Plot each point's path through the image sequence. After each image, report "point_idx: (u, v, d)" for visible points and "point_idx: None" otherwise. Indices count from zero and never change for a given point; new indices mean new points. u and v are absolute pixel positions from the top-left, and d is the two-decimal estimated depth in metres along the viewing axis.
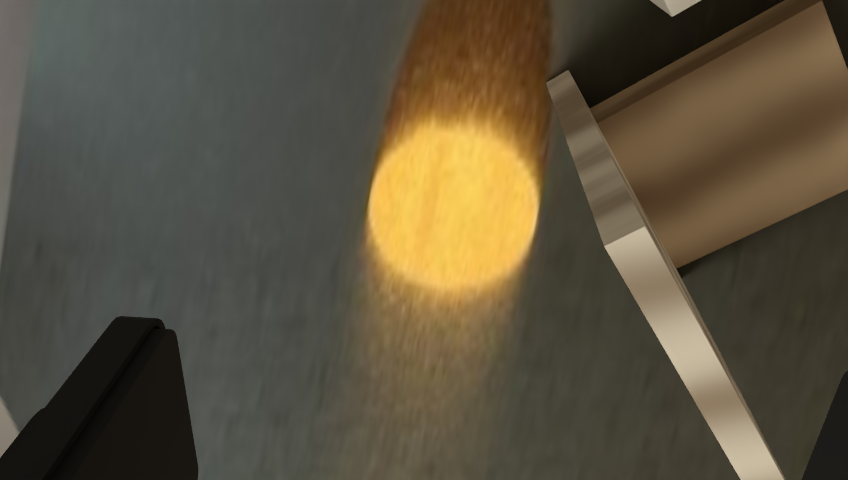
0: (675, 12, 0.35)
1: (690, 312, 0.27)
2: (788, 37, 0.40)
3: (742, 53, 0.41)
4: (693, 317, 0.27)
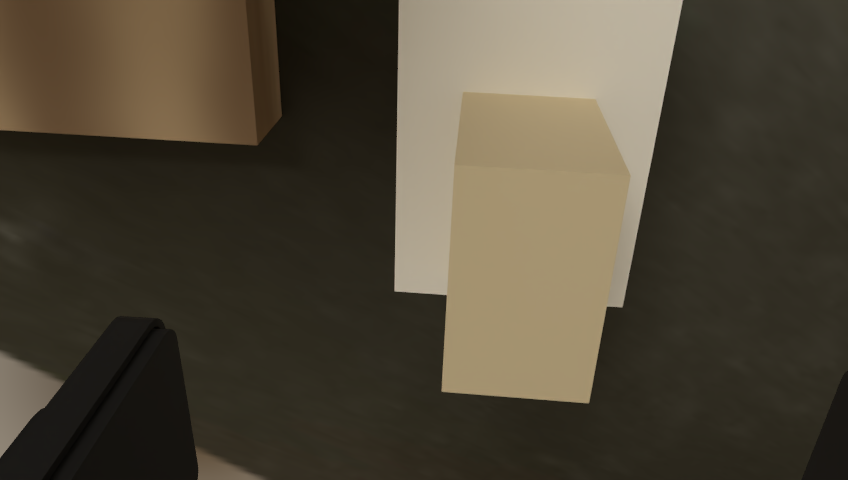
0: None
1: None
2: (220, 74, 0.21)
3: None
4: None
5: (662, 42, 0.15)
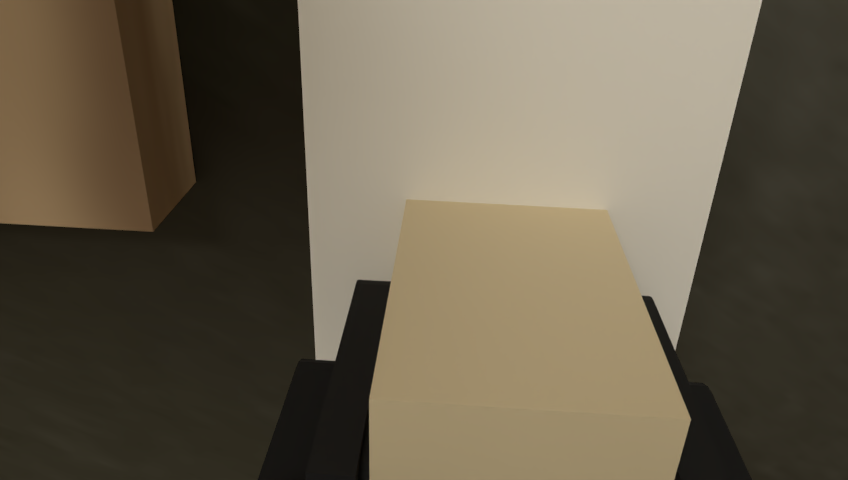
0: None
1: None
2: (95, 141, 0.16)
3: (94, 29, 0.15)
4: None
5: (711, 129, 0.10)
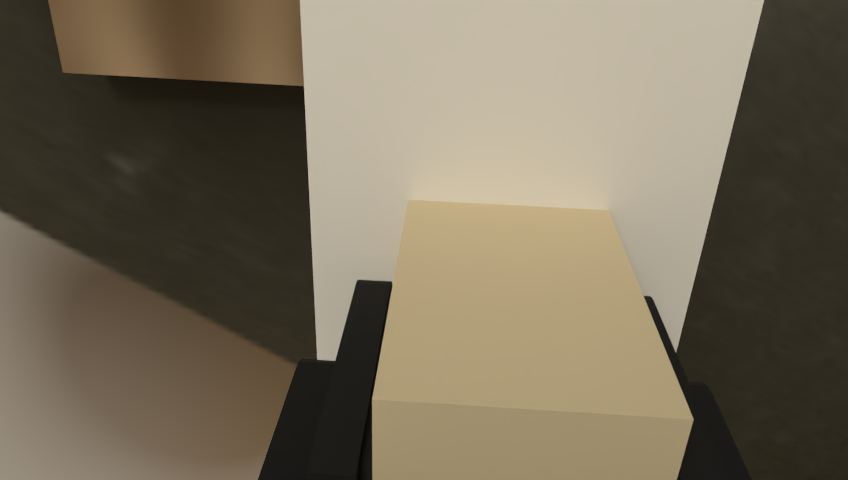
0: None
1: None
2: None
3: None
4: None
5: (713, 129, 0.10)
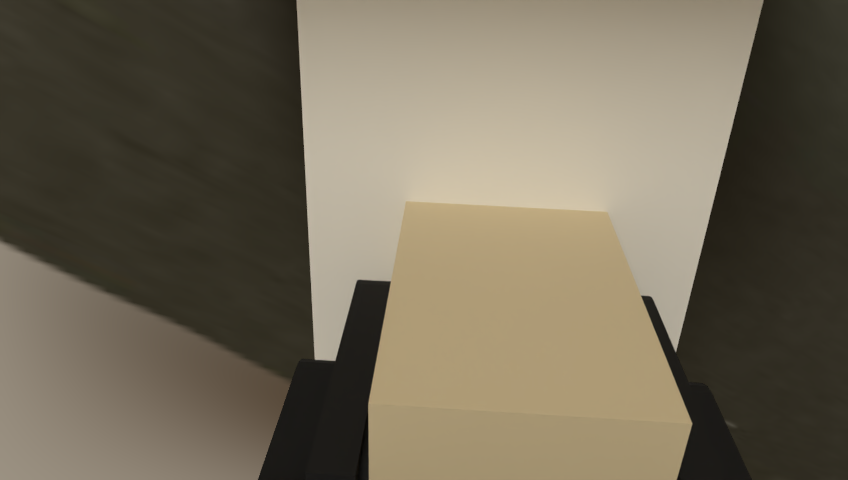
0: None
1: None
2: None
3: None
4: None
5: (712, 131, 0.10)
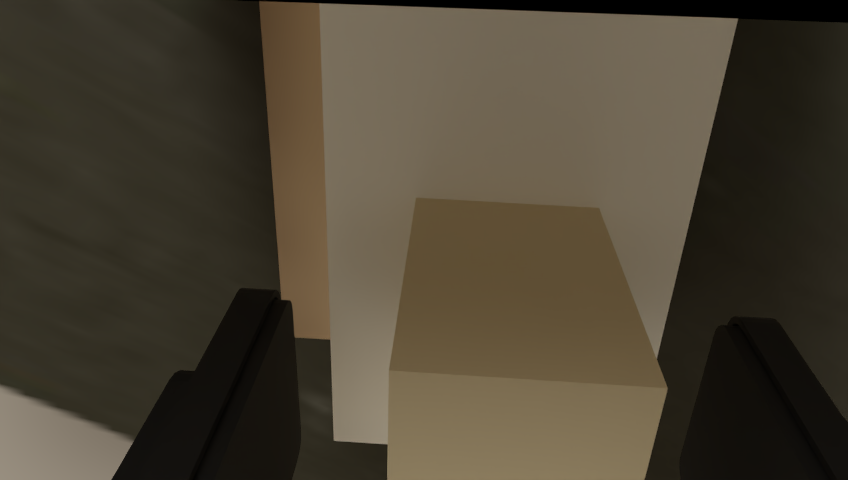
0: None
1: None
2: None
3: None
4: None
5: (693, 135, 0.11)
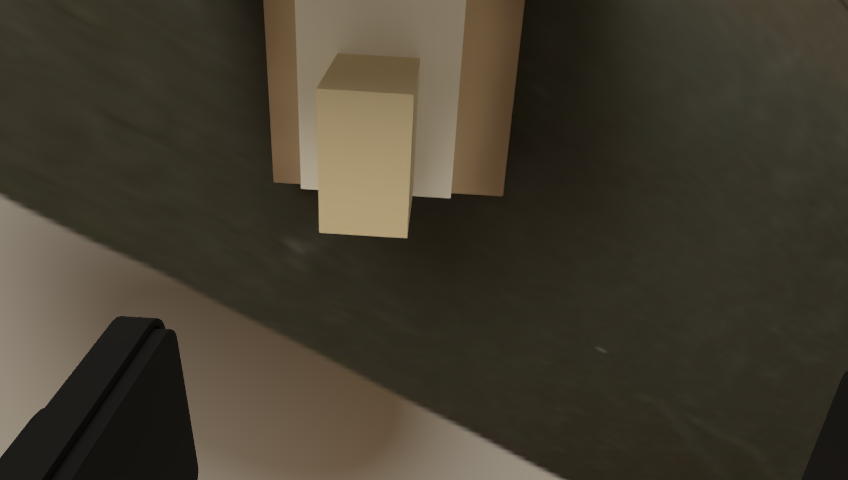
0: None
1: None
2: (487, 155, 0.36)
3: (502, 107, 0.34)
4: None
5: (457, 23, 0.25)
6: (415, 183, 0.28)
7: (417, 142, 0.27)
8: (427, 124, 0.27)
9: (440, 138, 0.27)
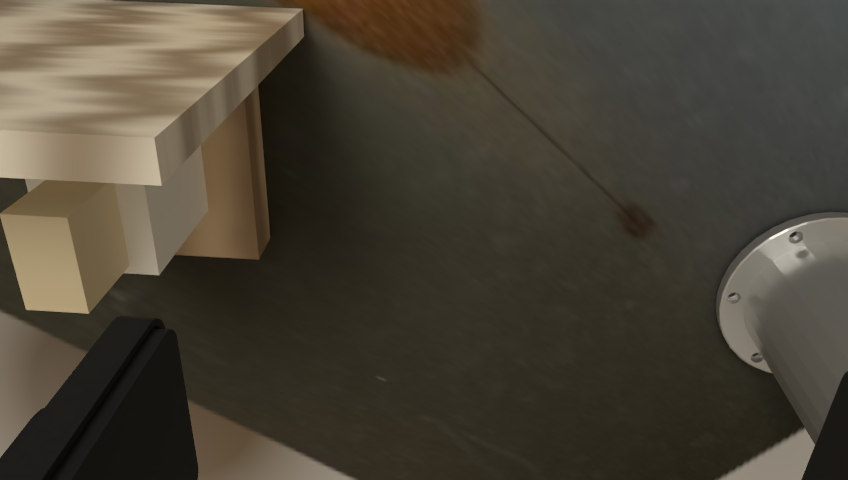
0: None
1: (29, 177, 0.22)
2: (240, 228, 0.45)
3: (244, 192, 0.43)
4: (21, 177, 0.22)
5: None
6: (130, 264, 0.37)
7: (125, 235, 0.36)
8: (129, 223, 0.36)
9: (141, 232, 0.36)
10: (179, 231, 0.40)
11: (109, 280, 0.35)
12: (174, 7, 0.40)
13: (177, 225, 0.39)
